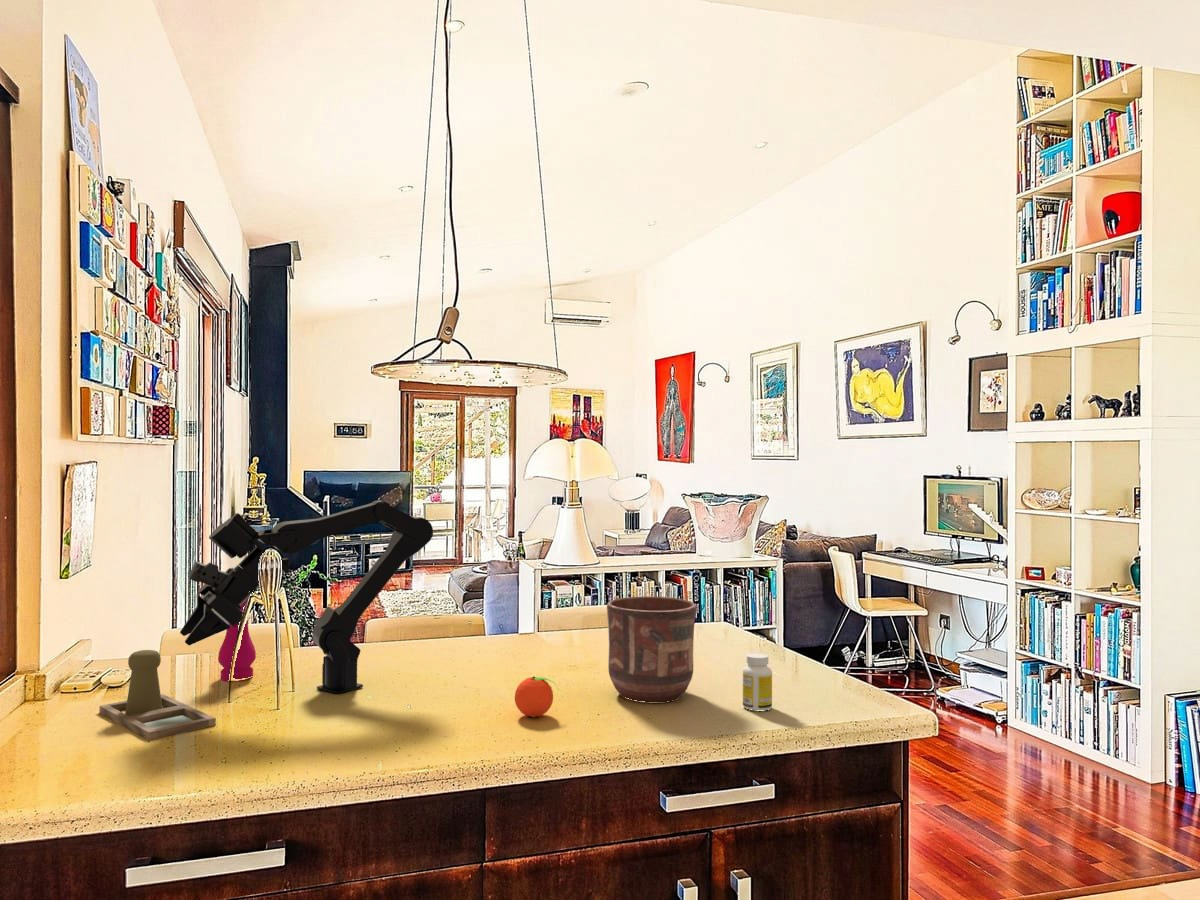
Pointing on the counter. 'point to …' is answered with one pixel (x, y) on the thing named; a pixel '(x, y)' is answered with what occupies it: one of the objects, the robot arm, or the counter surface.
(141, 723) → the brown wooden frame
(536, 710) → the clementine
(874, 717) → the counter surface
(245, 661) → the pepper mill
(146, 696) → the cork
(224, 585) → the robot arm
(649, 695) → the pottery
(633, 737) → the counter surface
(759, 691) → the supplement bottle
